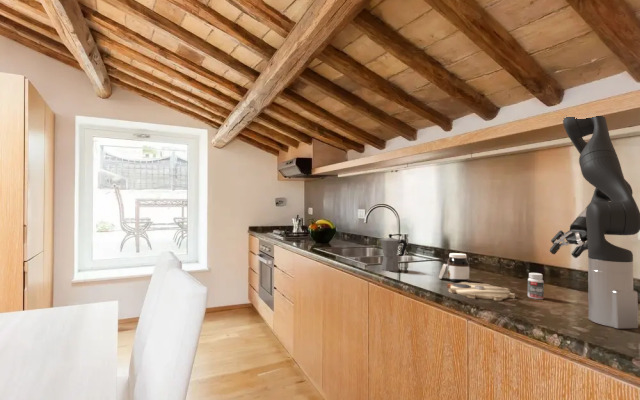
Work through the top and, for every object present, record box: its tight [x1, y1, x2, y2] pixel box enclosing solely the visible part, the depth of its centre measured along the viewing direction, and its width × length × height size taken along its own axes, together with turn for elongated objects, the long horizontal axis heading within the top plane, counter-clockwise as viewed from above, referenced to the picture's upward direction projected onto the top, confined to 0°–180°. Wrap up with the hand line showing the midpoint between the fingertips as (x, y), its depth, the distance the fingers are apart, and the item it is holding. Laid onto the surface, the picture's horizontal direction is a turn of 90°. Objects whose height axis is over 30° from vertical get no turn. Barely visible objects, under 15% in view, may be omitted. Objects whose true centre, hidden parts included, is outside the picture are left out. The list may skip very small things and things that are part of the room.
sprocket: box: [446, 281, 516, 301], centre depth 121 cm, size 23×23×2 cm
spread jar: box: [438, 252, 470, 283], centre depth 141 cm, size 12×11×12 cm
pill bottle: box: [527, 272, 545, 300], centre depth 115 cm, size 5×5×8 cm
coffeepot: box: [378, 233, 408, 272], centre depth 165 cm, size 15×9×18 cm, turn 51°
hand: (562, 254), depth 118 cm, fingers open, 8 cm apart
